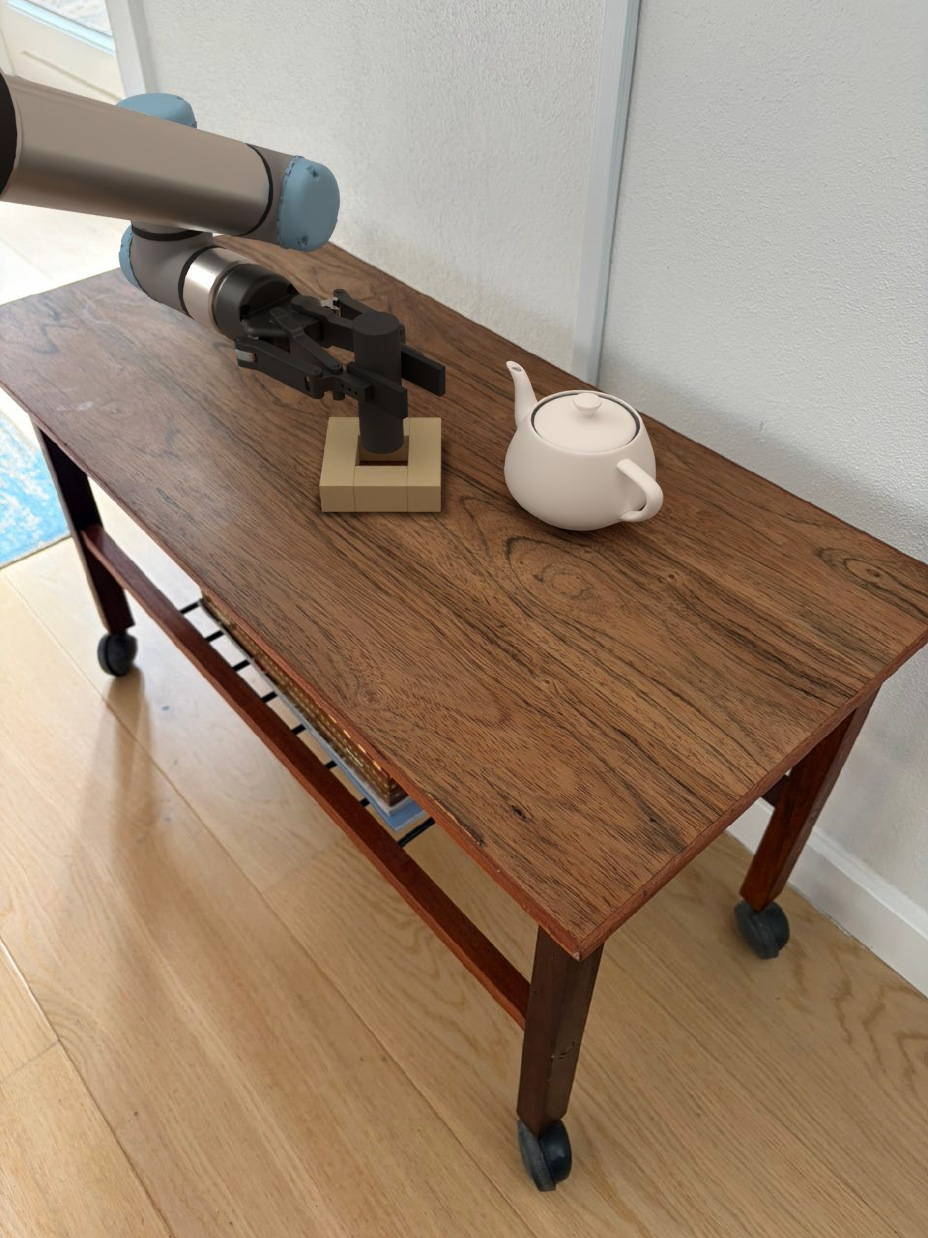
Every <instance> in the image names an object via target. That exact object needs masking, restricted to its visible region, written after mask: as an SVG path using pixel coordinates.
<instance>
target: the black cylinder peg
mask: <svg viewBox="0 0 928 1238" xmlns="http://www.w3.org/2000/svg"><path fill="white" fill-rule="evenodd" d="M400 323H401V321H400V320H399V317H397V316H396V315H394V314H392V313H390V312H386V311H378V310H376V311H374V312H367V313H363V314H361V315H359V316H357V317H356V318H355V319H354V320H353V322H352V331H353V345H354V353H353V357H354V362H356V363H358V364H360V365H361V366H363V367H365V368H367V369H369V370H371V371H373V372H375V373H377V374H379V375H381V376H383V377H385V378H387V379H389V380H391V381H393V382H395V383H397V384H399V385H401V386H403V378H402V371H401V343H400ZM357 412H358V417H359V427H360V440H361V445H362V447H363V448H364V449H365V450H367V451H369V452H371V453H375V454H388V453H392V452H395V451H397V450H398V449H400V448H401V447H402V445H403V443H404V425H403V420H401V419H399V418H397V417H395V416H393V415H391V414H389V413H387V412H386V411H384V410H382V409H380V408H378V407H376V406H374V405H372V404H370V403H369V402H366V403H362V402H359V401H357Z"/></svg>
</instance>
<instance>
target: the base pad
mask: <svg viewBox="0 0 928 1238" xmlns="http://www.w3.org/2000/svg"><path fill="white" fill-rule="evenodd" d="M403 425H404V443H403V445H402V447H401V448H400V449H398V450H397V451H395V452H392V453H388V454H375V453H371V452H369V451H367V450H365V449H364V448H363V447H362V445H361V440H360V427H359V416H338V417H337V416H329V417H328V423H327V429H326V437H325V444H324V449H323V450H324V451H323V458H322V464H321V471H320V477H319V478H320V479H319V484H318V485H319V486H318V487H319V495H320V504H321V512H322V513H328V512H329V513H355V512H356V513H366V512H367V513H407V512H408V513H441V511H442V510H441V509H442V506H441V505H442V504H441V501H442V492H441V491H442V417H407V418H405V419H403ZM361 461H363V462H367V461H368V462H371V461H372V462H376V461H377V462H378V461H379V462H383V461H384V462H385V461H386V462H388V461H389V462H393V461H394V462H395V461H396V462H407V465H361Z"/></svg>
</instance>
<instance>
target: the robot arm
mask: <svg viewBox="0 0 928 1238" xmlns="http://www.w3.org/2000/svg"><path fill="white" fill-rule="evenodd" d="M0 202H1V203H9V204H17V205H22V206H30V207H36V208H43V209H44V208H45V209H50V210H58V211H63V212H69V213H70V212H71V213H77V214H84V215H90V216H97V217H105V218H111V219H117V220H124V221H130V224H129V226H128V227H127V228H126V229H125V231H124V232H123V234H122V236H121V239H120V247H119V252H118V255H117V256H118V263H119V267H120V269H121V272H122V274H123V276H124V278H125V279H126V280H127V281H128V282H129V283H130V284H131V285H132V286H133V287H135V288H136V289H137V290H139V291H141V293H144V294H145V295H146V297H148V298H149V299H150V300H152V301H154V302H157V303H158V304H162V305H165V306H167V307H168V308H171V309H173V310H175V311H177V312H179V313H180V314H182V315H185V316H186V317H188V318H190V319H192V320H193V321H195V322H197V323H199V324H200V325H203V326H205V327H207V328H209V329H210V330H212V331H214V332H216V333H218V334H220V335H222V336H224V337H226V338H227V339H228V340H230V341H232V342H233V345H234V353H235V357H236V363H237V366H238V367H240V368H243V369H248V370H252V371H258V372H260V373H262V374H264V375H265V376H268V377H270V378H272V379H273V380H275V381H278V382H280V383H282V384H283V385H286V386H287V387H289V388H291V389H294V390H295V391H297V392H299V393H301V394H303V395H306V396H307V397H310V398H311V399H313V400H321V399H323V398H324V397H325V396H326V395H325V393H327V392H331V395H332V400H333V401H335V402H341V401H344V400H345V399H346V397H350V398H351V399H353V400H355V401H357V402H358V401H359V402H362V403H366V402H369V403H370V404H372V405H374V406H376V407H378V408H380V409H382V410H384V411H386V412H387V413H389V414H391V415H393V416H395V417H397V418H399V419H401V420H403V419H405V418H409V399H408V398H409V397H408V388H407V387H404V386H403V385H402V386H401V385H399V384H397V383H395V382H393V381H391V380H389V379H387V378H385V377H383V376H381V375H379V374H377V373H375V372H373V371H371V370H369V369H367V368H365V367H363V366H361V365H360V364H358V363H356V362H355V360H354V361H353V360H350V361H348V362H347V363H346V364H345V368H344V364H343V363H342V362H341V361H340V360H338V359H337V358H336V357H335V356H334V355H332V354H331V353H330V352H329V351H327V350H326V349H330V348H331V347H334V348H338V349H341V350H345V351H348V352H351V353H353V354H354V345H353V331H352V322H353V320H354V319H355V318H356V317H357V316H359V315H361V314H363V313H367V312H374V311H377V309H375V308H373V307H370V306H369V305H366V304H365V303H363V302H360V301H358V300H356V299H354V298H353V297H352V296H351V295H350V293H349V292H347V290H346V289H343V288H336V289H334V290H333V291H332V295H333V297H332V298H328V299H327V298H326V299H322V300H320V299H319V298H317V297H316V296H313V295H305V294H302V293H300V291H299V290H298V289H297V288H296V287H295V285H294V284H293V283H292V282H291V281H290V280H289V279H288V278H287V277H286V276H284V275H282V274H281V273H279V272H276V271H274V270H273V269H270V268H267V267H266V266H263V265H261V264H258V263H257V262H256V261H254V260H253V259H250V258H248V257H246V256H243V255H241V254H239V253H237V252H235V251H232V250H230V249H227V248H226V247H224V246H222V245H220V244H217V243H216V242H215V239H214V234H219V235H225V236H230V237H235V238H239V239H247V240H254V241H259V242H263V243H264V242H265V243H268V244H271V245H275V246H279V247H280V248H281V249H284V250H290V249H291V250H295V251H298V252H304V253H312V252H315V251H317V250H320V249H321V248H322V247H324V246H325V245H326V244H327V243H328V242H329V240H330V238H331V237H332V235H333V233H334V231H335V229H336V227H337V224H338V221H339V220H338V219H339V218H338V216H339V212H340V209H341V208H340V207H341V195H340V188H339V184H338V181H337V178H336V176H335V175H334V173H333V172H332V170H331V169H330V168H328V167H327V165H324V164H323V163H321V162H317V161H314V160H310V159H307V158H305V156H302V155H298V154H295V155H293V154H289V153H285V152H281V151H277V150H273V149H270V148H266V147H262V146H259V145H257V144H253V143H248V142H245V141H242V140H239V139H235V138H232V137H228V136H225V135H220V134H217V133H214V132H211V131H207V130H203V129H200V128H198V121H197V119H196V117H195V113H194V111H193V107H192V105H191V104H190V103H189V102H188V101H187V100H185V98H183V97H181V96H179V95H176V94H172V93H165V92H149V93H140V94H135V95H132V96H128V97H126V98H124V99H122V100H120V101H118V102H117V103H116V104H112V103H109V102H105V101H102V100H99V99H95V98H91V97H88V96H84V95H81V94H77V93H74V92H70V91H67V90H63V89H60V88H56V87H52V86H49V85H46V84H42V83H40V82H35V81H32V80H28V79H25V78H22V77H17V76H15V75H11V74H7V73H5V72H4V71H3V68H1V67H0ZM406 341H407V339H406V325H405V324H404V323H402V322H400V343H401V371H402V380H404V381H407V382H409V383H410V384H413V385H415V386H417V387H418V388H421V389H423V390H425V391H426V392H428V393H430V394H432V395H435V396H436V397H438V398H442V397H443V396H445V395H446V394H447V393H446V392H447V391H446V388H447V387H446V386H447V385H446V384H447V383H446V369H447V368H446V367H447V366H445V365H444V364H442V363H439V362H438V361H435V360H434V359H431V358H429V357H427V356H425V354H424V353H423V351H420V350H419V349H416V348H414V347H412V346H410V345H408V344H407V343H406ZM307 378H308V379H307Z"/></svg>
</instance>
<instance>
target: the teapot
mask: <svg viewBox="0 0 928 1238" xmlns="http://www.w3.org/2000/svg"><path fill="white" fill-rule="evenodd" d="M505 364H506V367H507V370H508V371H509V373H510V375H511V377H512V379H513V386H514V421H515V427H516V430H515V432H514V435H513V437H512V439H511V440H510V443H509V445H508V448H507V450H506V454H505V458H504V459H505V460H504V467H503V474H504V479H505V480H504V481H505V485H506V487H507V488H508V490H509V492H510V494H511V496H512V497H513V499H514V500H515V501H516V502H517V503H518V504H519V505H520V506H521V508H523V509H524V510H525V511H526V512H528V513H529V514H530V515H532V516H533V517H535V518H537V519H539V520H540V521H542V522H544V523H546V524H549V525H550V526H552V527H553V526H554V527H556V528H560V529H564V530H570V531H580V532H581V531H593V530H598V529H604V528H607V527H610V526H612V525H615V524H618V523H621V522H627V523H628V522H630V523H639V522H640V523H641V522H643V521H647V520H649V519H651V518H653V517H654V516H656V515H657V514H658V513H659V511H660V510H661V508H662V506H663V503H664V492H663V490H662V488H661V486H660V484H659V483H657V481H656V480H657V471H656V470H657V468H656V467H657V465H656V456H655V452H654V448H653V445H652V442H651V439H650V437H649V434H648V431H647V429H646V426H645V424H644V421H643V419H642V417H641V415H640V414H639V412H638V411H637V410H636V409H635V408H634V407H632V406H631V404H629V403H628V402H626V401H625V400H623V399H622V398H619V397H616V396H614V395H612V394H609V393H605V392H602V391H601V392H600V391H595V390H588V389H587V390H585V389H574V390H572V389H571V390H565V391H560V392H557V393H553V394H549V395H547V396H545V397H543V398H541V399H540V400H539V401H538V400H537V398H536V394H535V392H534V389H533V386H532V384H531V381H530V379H529V376H528V375H527V373H526V371H525V369H524V368H523V367H522V366H521V365H520V364H519V363H517V362H515V361H512V360H508V361H506V363H505ZM642 508H643V509H642ZM641 509H642V510H641Z"/></svg>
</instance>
